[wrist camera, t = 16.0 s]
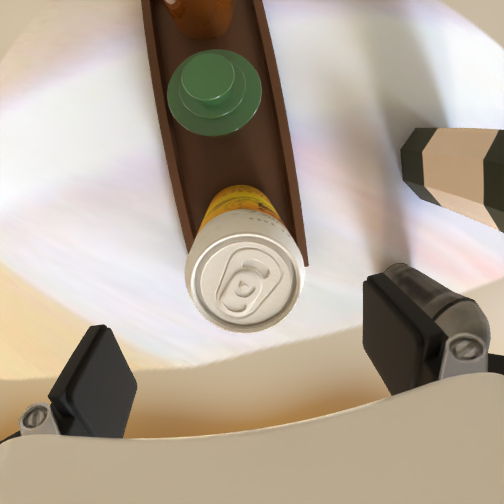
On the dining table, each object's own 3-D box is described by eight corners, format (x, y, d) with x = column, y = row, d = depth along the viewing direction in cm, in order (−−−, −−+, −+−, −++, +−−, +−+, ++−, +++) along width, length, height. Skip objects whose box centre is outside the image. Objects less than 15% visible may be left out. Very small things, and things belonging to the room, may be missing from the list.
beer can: (285, 203, 28) (333, 262, 14) (252, 258, 30) (268, 355, 16) (227, 172, 27) (218, 199, 13) (196, 229, 29) (162, 309, 15)
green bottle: (196, 145, 26) (159, 145, 13) (186, 89, 24) (142, 40, 11) (257, 134, 26) (278, 121, 13) (246, 77, 24) (257, 16, 11)
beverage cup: (415, 240, 31) (545, 333, 12) (426, 291, 33) (529, 393, 14) (361, 269, 32) (470, 397, 13) (377, 319, 34) (463, 445, 15)
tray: (199, 275, 31) (196, 286, 29) (146, -1, 21) (140, -11, 19) (303, 256, 31) (308, 266, 28) (251, -21, 21) (253, -34, 19)
